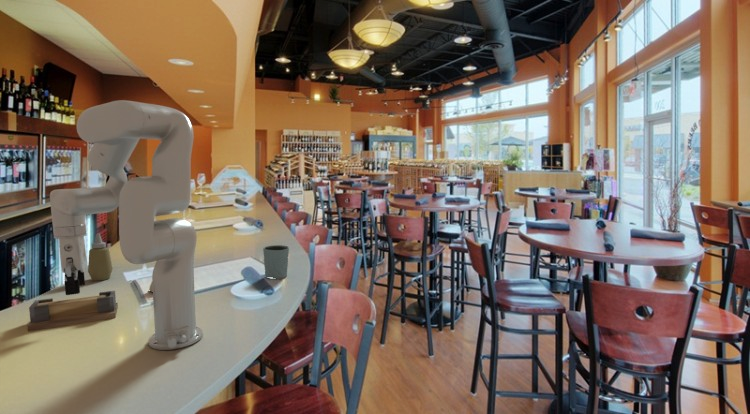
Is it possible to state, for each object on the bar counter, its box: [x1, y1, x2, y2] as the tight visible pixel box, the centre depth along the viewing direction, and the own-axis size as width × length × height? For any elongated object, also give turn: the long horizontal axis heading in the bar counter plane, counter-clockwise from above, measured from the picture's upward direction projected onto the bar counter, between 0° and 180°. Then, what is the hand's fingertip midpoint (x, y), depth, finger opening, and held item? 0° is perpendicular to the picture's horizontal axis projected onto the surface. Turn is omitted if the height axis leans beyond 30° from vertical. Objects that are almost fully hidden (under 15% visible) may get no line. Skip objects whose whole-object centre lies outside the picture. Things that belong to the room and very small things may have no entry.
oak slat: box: [37, 295, 106, 319], centre depth 117 cm, size 3×16×4 cm, turn 119°
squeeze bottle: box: [87, 233, 114, 282], centre depth 157 cm, size 8×8×18 cm
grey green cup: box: [262, 244, 290, 280], centre depth 162 cm, size 10×10×12 cm
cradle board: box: [27, 290, 119, 332], centre depth 117 cm, size 10×20×6 cm, turn 119°
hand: (75, 289), depth 117 cm, fingers open, 9 cm apart
